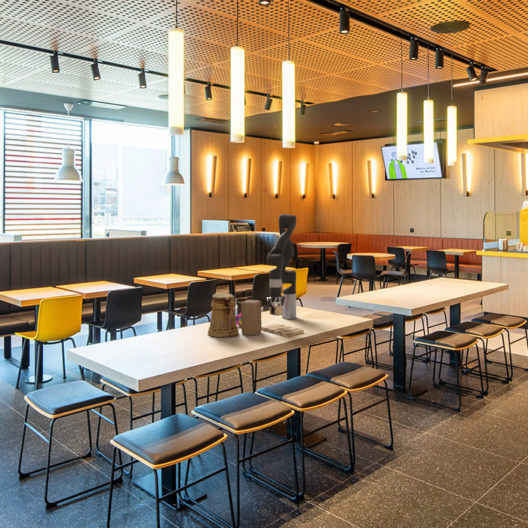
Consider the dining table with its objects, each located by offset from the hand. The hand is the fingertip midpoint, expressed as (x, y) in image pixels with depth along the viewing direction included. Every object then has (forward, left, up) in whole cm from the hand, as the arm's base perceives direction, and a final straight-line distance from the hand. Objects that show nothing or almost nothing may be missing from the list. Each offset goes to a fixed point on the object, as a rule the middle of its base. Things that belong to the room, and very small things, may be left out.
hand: (276, 313), depth 335 cm
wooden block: (-3, -17, -11) cm, 21 cm away
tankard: (-11, -31, -11) cm, 35 cm away
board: (+6, 0, -11) cm, 12 cm away
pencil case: (-28, -2, -11) cm, 30 cm away
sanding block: (0, 0, -1) cm, 1 cm away
